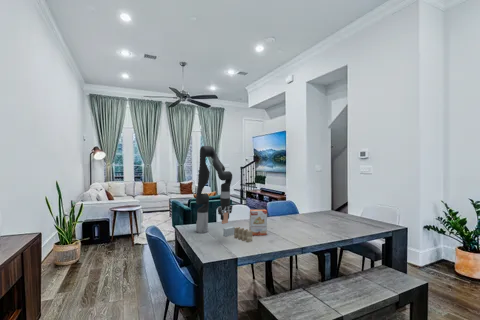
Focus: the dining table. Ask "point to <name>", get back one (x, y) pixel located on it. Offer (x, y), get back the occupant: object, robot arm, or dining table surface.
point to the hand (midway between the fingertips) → (224, 219)
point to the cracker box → (258, 222)
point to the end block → (228, 231)
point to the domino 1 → (225, 218)
